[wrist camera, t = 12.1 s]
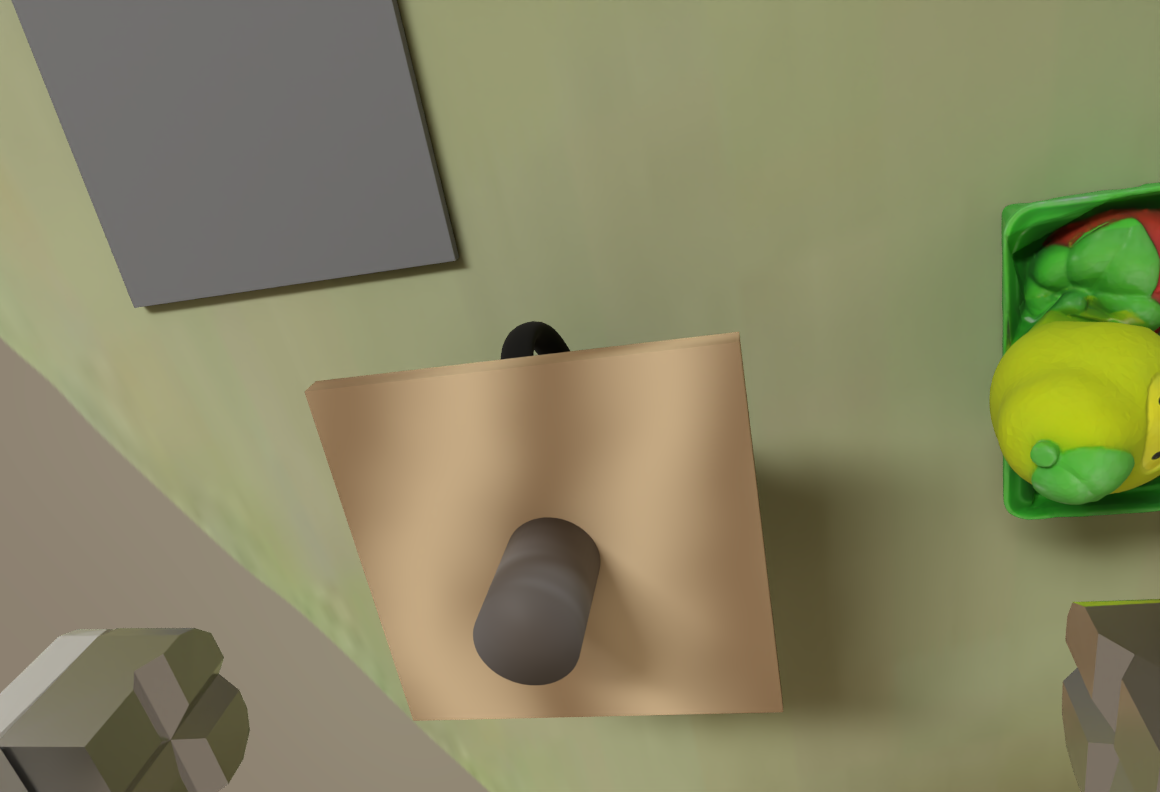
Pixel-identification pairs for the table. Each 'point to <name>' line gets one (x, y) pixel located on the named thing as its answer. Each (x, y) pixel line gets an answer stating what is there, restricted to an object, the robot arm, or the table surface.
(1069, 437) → the fruit basket
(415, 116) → the mat
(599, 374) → the lid
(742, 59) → the table surface
